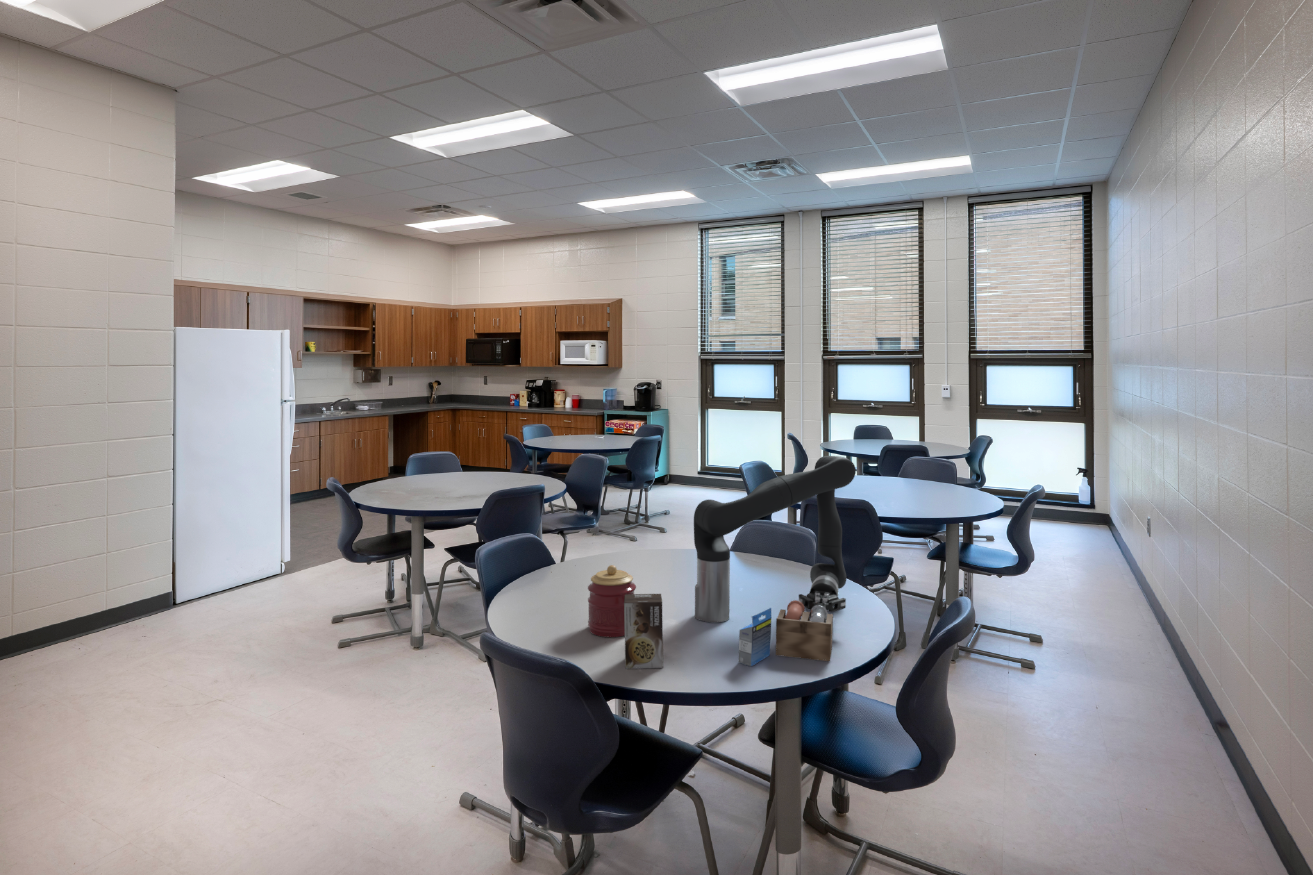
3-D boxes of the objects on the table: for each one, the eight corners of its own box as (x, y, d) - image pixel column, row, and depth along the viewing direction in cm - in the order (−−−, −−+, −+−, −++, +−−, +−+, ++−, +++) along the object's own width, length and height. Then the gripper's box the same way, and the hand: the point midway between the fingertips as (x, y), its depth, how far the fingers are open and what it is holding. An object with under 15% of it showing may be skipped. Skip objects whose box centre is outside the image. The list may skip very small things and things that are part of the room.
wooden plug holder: (775, 655, 176) (776, 618, 176) (780, 642, 184) (780, 607, 184) (830, 661, 173) (831, 624, 172) (832, 648, 181) (832, 612, 180)
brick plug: (782, 628, 178) (783, 611, 178) (787, 616, 187) (787, 599, 187) (800, 630, 177) (801, 612, 177) (804, 617, 186) (804, 601, 186)
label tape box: (757, 651, 179) (757, 603, 177) (771, 656, 176) (772, 607, 175) (737, 663, 172) (738, 613, 171) (752, 667, 169) (753, 616, 168)
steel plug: (806, 634, 174) (807, 616, 174) (810, 621, 184) (810, 604, 183) (825, 636, 173) (825, 618, 173) (827, 622, 182) (828, 605, 182)
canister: (629, 640, 186) (629, 573, 185) (581, 636, 189) (581, 570, 187) (641, 622, 199) (640, 560, 197) (595, 619, 202) (595, 557, 200)
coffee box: (662, 657, 175) (662, 593, 173) (663, 668, 168) (663, 601, 167) (624, 658, 175) (624, 593, 173) (624, 669, 168) (624, 601, 167)
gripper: (800, 576, 202) (793, 595, 186) (849, 580, 198) (846, 599, 182) (799, 602, 203) (792, 623, 186) (848, 607, 199) (845, 628, 182)
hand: (819, 611), depth 184 cm, fingers closed
